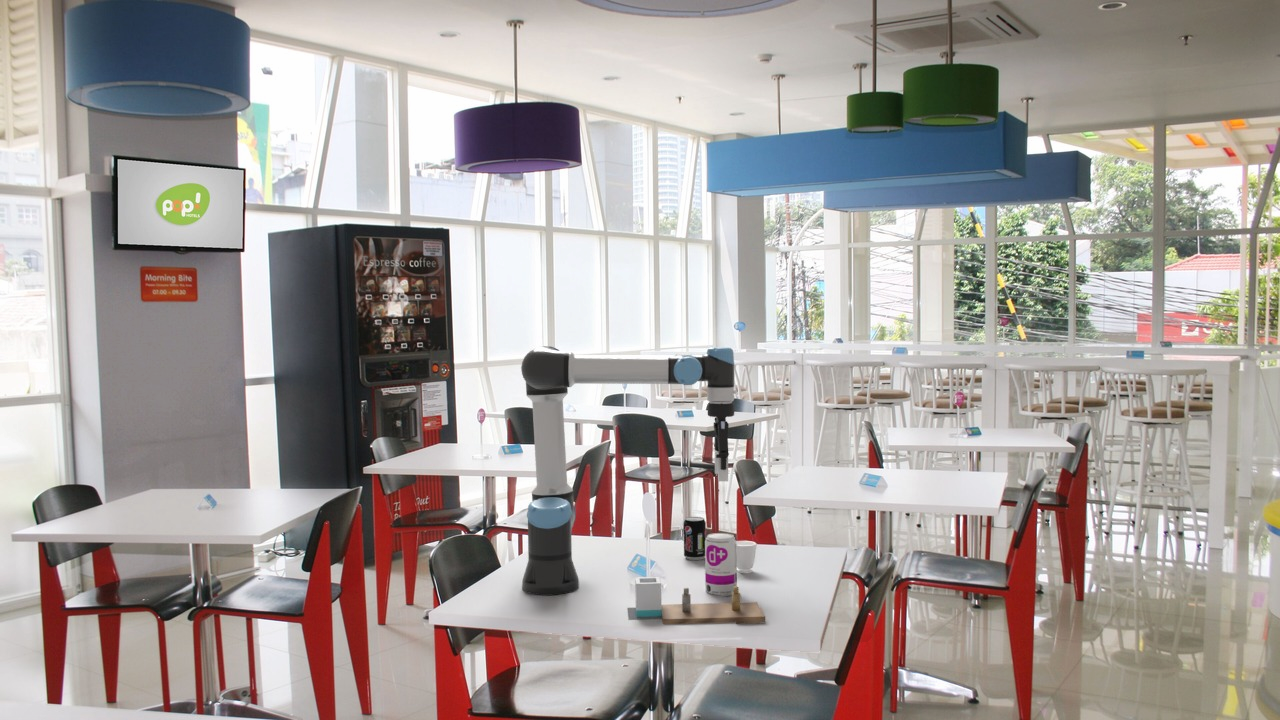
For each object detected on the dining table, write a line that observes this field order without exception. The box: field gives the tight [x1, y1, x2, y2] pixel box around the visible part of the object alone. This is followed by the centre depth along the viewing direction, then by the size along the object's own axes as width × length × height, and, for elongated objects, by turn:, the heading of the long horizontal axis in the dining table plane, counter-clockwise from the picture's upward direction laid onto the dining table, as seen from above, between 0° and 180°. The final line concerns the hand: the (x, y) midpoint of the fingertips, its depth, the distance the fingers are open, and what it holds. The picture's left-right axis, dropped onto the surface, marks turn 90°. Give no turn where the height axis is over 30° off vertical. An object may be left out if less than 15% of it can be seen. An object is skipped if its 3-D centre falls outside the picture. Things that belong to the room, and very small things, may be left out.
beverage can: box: [683, 516, 707, 561], centre depth 296 cm, size 7×7×12 cm
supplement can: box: [704, 532, 738, 597], centre depth 257 cm, size 8×8×15 cm
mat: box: [626, 607, 662, 621], centre depth 238 cm, size 10×10×1 cm
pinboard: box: [661, 586, 766, 625], centre depth 236 cm, size 24×12×7 cm, turn 92°
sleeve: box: [634, 576, 663, 617], centre depth 238 cm, size 6×6×8 cm
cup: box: [736, 540, 758, 574], centre depth 279 cm, size 7×10×8 cm
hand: (721, 477), depth 277 cm, fingers open, 13 cm apart
